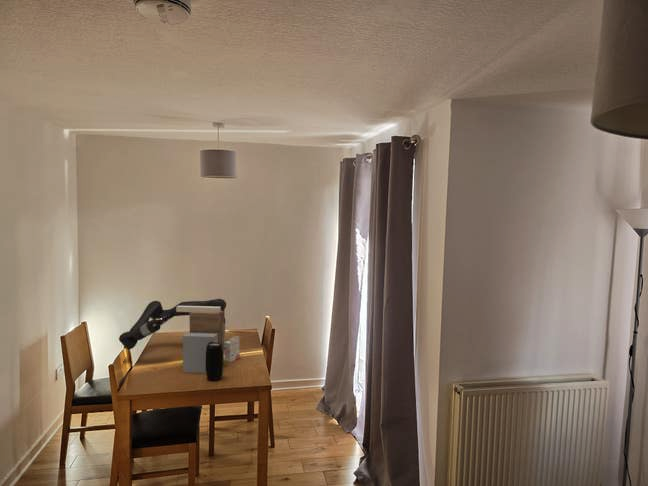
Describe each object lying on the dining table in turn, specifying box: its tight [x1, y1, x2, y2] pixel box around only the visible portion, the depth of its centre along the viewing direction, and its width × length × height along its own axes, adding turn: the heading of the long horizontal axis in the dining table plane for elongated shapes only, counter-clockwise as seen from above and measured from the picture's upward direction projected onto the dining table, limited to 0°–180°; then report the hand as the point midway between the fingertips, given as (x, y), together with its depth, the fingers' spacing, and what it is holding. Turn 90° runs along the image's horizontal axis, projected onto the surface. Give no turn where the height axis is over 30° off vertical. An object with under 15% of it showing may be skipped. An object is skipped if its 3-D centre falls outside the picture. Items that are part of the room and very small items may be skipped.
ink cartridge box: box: [224, 335, 240, 363], centre depth 267 cm, size 9×5×15 cm, turn 148°
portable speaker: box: [205, 342, 224, 382], centre depth 235 cm, size 9×9×20 cm
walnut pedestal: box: [189, 310, 225, 364], centre depth 257 cm, size 8×18×32 cm, turn 85°
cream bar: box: [176, 306, 221, 313], centre depth 256 cm, size 4×26×3 cm, turn 85°
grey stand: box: [182, 332, 218, 374], centre depth 247 cm, size 7×18×21 cm, turn 85°
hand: (172, 315), depth 258 cm, fingers open, 8 cm apart
